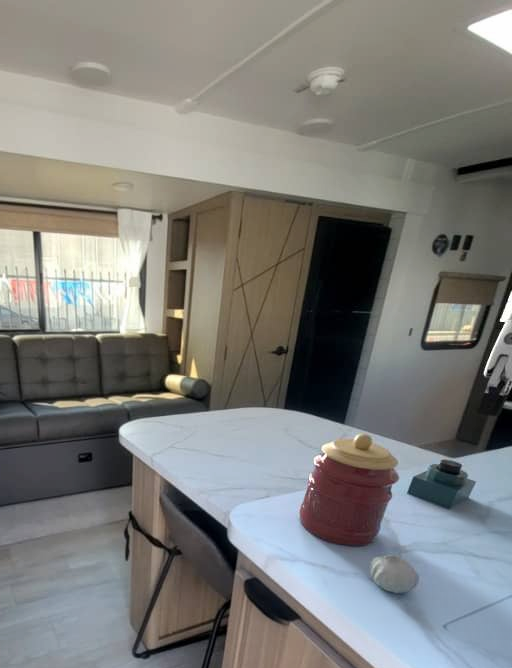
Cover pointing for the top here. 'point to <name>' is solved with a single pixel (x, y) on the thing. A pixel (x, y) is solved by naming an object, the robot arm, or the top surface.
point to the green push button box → (441, 487)
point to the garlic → (393, 574)
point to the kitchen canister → (349, 491)
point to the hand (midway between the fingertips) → (487, 413)
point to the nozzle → (450, 467)
